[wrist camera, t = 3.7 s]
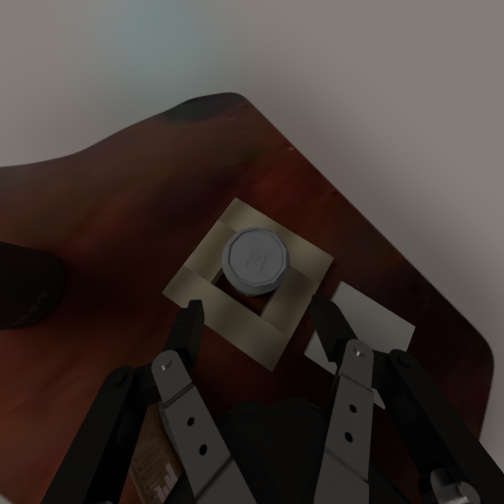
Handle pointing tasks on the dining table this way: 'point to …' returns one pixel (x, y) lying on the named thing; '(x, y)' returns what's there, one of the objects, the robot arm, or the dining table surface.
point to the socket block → (233, 312)
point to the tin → (155, 458)
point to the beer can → (255, 261)
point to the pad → (364, 328)
